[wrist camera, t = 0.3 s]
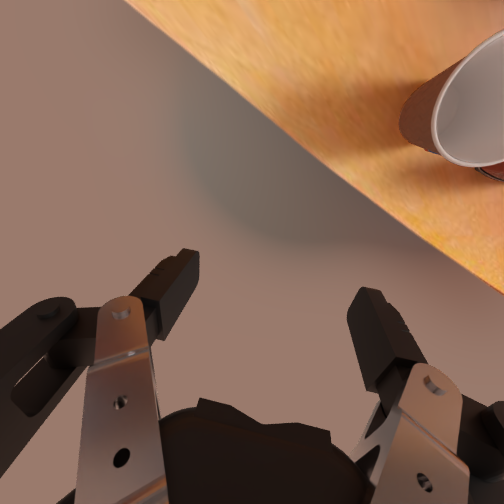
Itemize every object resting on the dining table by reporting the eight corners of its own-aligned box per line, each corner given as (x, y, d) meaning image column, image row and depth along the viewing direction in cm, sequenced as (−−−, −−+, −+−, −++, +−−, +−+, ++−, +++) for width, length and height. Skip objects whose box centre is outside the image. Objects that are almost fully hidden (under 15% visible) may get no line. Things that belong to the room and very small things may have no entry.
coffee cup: (395, 170, 32) (444, 187, 22) (374, 99, 28) (420, 78, 18) (481, 129, 28) (591, 126, 18) (468, 41, 25) (595, -27, 14)
